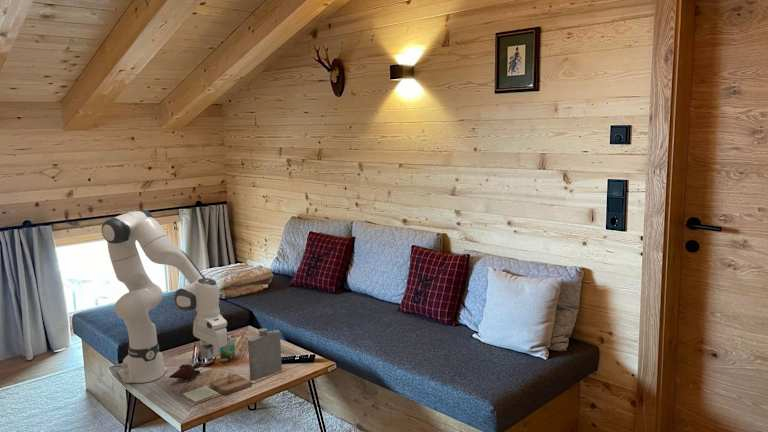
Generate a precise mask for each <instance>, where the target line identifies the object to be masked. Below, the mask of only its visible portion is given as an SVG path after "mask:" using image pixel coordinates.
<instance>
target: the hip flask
mask: <svg viewBox="0 0 768 432" xmlns="http://www.w3.org/2000/svg"><path fill="white" fill-rule="evenodd" d="M281 343H282V342H281V330H279V329H275V330H274V329H273V330H270V331H268V328H264V327H263V328H262V327H261V328H259V329H258V335H255V336H251V338H248V339H247V348H248V362H249V365H248V366H249V378H250V380H249V381H251V382H253V381H255V382H256V381H257V380H260V379H261V378H263V377H265V376H269V375H270V374H274V373H276V372H280V371H282V370H283V366H282V365H283V363H282V349H281V348H282V345H281Z"/></svg>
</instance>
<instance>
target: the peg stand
mask: <svg viewBox="0 0 768 432" xmlns="http://www.w3.org/2000/svg"><path fill="white" fill-rule="evenodd" d="M252 383H253V381H252V380H249V379H247V378H246V377H243V376H241V375H239V374H238V373H234V374H233V371H228V372H227V376H225V377H222V378H218V379H216V380H213V381H211V382H209V385H210V386H209V388H211V389H212V390H214V391H216V392H218V393H219V394H222V395H223V396H225V397H226V396H229V395H233V394H235V393H237V392H240V391H243V390H245V389H248V388H251V387H252V386H253V384H252Z"/></svg>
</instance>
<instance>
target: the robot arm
mask: <svg viewBox="0 0 768 432" xmlns="http://www.w3.org/2000/svg"><path fill="white" fill-rule="evenodd" d="M101 234H102V236H103V238H104V239H105V241H106V242H107V250H108V255H109V259H110V262H111V264H112V268H113V271H114V273H115V277H116V279H117V280H118V281H119V282H121V283H122V284H124V286H126V288H127V289H128V292H126V293H124V294H123V295H122V296H121V297H119V299H118V300H117V301H116V302H115V305H114V312H115V314H116V315H117V317H118V318H119V319H121V320H122V321H123V322H124V324H125V326H126V329H127V334H128V343H129V344H128V351H127V352H128V353H127V355H126V356H125V357H124V358H123V359H122V363H121V364H120V369H118V371H117V373H118V375H119V376H120V378H121V380H122V382H123V383H124V384H131V383H132V384H133V383H134V384H139V383H141V384H142V383H148V382H153V381H155V380H158V379H160V378H161V377H163V376H164V375H165V372H167V371H168V370H169V369H168V367H167V366H165V363H164V356H163V353H162V352H161V351H160V345H159V342H158V337H157V336H158V335H157V326H156V324H155V323H153V321H151V318H150V316H149V311H152V310H153V309H154V308H156V307H157V306H158V305H159V303H160V302H162V300H163V297H164V296H163V295H164V294H163V289H161V287H160V286H159V285H157V284H155V283H154V282H153V281H152V279H150V277H149V276H148V274H147V272H146V271H145V268H144V265H143V262H142V259H141V257H140V254H139V253H140V252H139V250H138V248H137V245H136V243H137V242H138V245H139V246H140V248H141V249H142V251H143V253H144V254H145V256H146V257H147V259H149V260H150V261H151V262H152V263H154V264H159V265H167V266H171V267H174V268H176V269H178V271H179V272H180V273H181V274H182V275H183V276H184V278H185V279H186V280H187V281H188V283H189V284H187V285H184V286H182V287H180V288H178V289H177V290H176V291H175V293H174V297H173V300H174V303H175V306H176V307H177V308H178V309H180V310H181V311H183V312H185V311H186V312H187V311H188V312H189V311H196V315H195V316H194V320H193V322H192V323H193V325H192V335H193V337H195V338H197V339H199V340H200V343H201V346H202V345H206V344H212V345H213V347H214V348H213V350H212V354H213V355H217V354H218V349H219V348H221V347H224V346H226V345H227V334H228V330H227V328H226V327H228V322H227V320H226V319H225V318H224V317H223V315H222V314H221V310H220V306H219V305H220V304H219V303H220V292H219V291H220V290H219V286H218V283H217V281H216V280H214V279H213V278H210V277H209V278H208V277H205V276H204V275H203V273H202V272H201V271H200V270H199V268H197V266H196V265H195V263H194V261H192V259H191V258H190V257H189V255H188V254H186V252H184V250H182V249H181V248H179V247H178V246H177V245H176V244H175V243H174V242H173V241H172V239H171V238H170V237H169V235H168V233H167V232H166V231H165V229H164V228H163V226H162V225H161V224H160V223H159V221H157V220H156V219H155V218H154V216H153V214H152V213H151V212H150V211H148V210H145V209H137V210H134V211H129V212H124V213H122V214H120V215H117V216H115V217H111V218H109V219H107V220H105V221H104V222H103V223H102V225H101ZM136 241H137V242H136Z"/></svg>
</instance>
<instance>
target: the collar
mask: <svg viewBox="0 0 768 432" xmlns="http://www.w3.org/2000/svg"><path fill="white" fill-rule="evenodd" d="M213 348H214V347H213V345H212V344H209V343H207V344H206V345H202V344H201V345H200V346H199V349H200V351H199V352H200V356H201V357H203V358H205V359H207V360H211V359H213V358H216V357H220V355H221V353H220V348H219V349H218V354H217V355H213V354H212V350H213Z"/></svg>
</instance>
